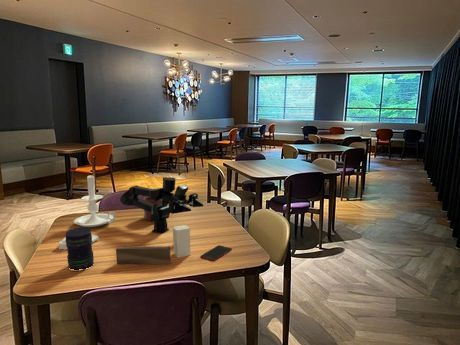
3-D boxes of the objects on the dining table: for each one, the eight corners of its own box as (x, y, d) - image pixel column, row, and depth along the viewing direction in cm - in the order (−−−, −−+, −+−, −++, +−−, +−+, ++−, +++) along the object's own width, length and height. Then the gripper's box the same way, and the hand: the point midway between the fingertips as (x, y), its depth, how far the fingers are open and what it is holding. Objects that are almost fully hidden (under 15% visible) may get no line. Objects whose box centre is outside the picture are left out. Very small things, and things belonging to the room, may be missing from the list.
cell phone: (199, 258, 155) (199, 256, 155) (218, 246, 167) (218, 244, 167) (214, 262, 151) (214, 260, 151) (232, 250, 163) (232, 248, 163)
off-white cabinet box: (173, 253, 159) (172, 227, 157) (186, 251, 162) (185, 224, 159) (177, 257, 155) (176, 230, 152) (190, 255, 157) (189, 228, 155)
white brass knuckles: (77, 253, 161) (51, 249, 166) (103, 239, 178) (79, 235, 182) (76, 246, 160) (51, 242, 165) (102, 232, 177) (78, 229, 182)
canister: (156, 213, 217) (154, 185, 214) (171, 217, 210) (170, 188, 206) (139, 219, 207) (137, 189, 203) (154, 223, 199) (153, 192, 196)
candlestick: (104, 233, 184) (100, 180, 179) (65, 228, 192) (60, 177, 186) (127, 221, 203) (124, 173, 198) (91, 217, 211) (87, 170, 206)
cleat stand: (124, 253, 159) (123, 239, 158) (173, 253, 160) (172, 238, 158) (117, 264, 148) (115, 249, 147) (170, 263, 149) (169, 248, 147)
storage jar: (68, 273, 141) (64, 237, 138) (68, 263, 150) (65, 229, 147) (94, 268, 145) (92, 233, 142) (93, 259, 154) (90, 226, 151)
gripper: (160, 187, 169) (185, 195, 161) (186, 180, 184) (210, 187, 176) (159, 209, 172) (183, 218, 164) (185, 200, 187) (208, 208, 179)
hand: (197, 207), depth 171 cm, fingers open, 9 cm apart
